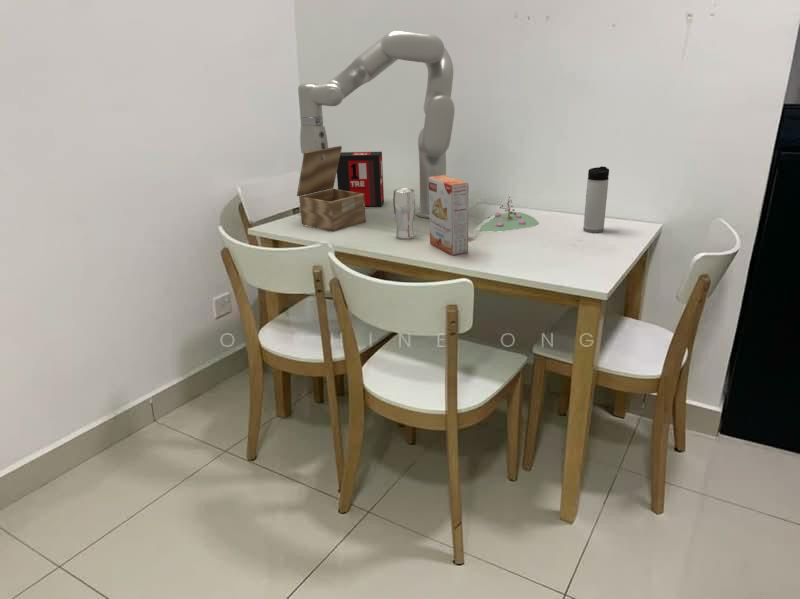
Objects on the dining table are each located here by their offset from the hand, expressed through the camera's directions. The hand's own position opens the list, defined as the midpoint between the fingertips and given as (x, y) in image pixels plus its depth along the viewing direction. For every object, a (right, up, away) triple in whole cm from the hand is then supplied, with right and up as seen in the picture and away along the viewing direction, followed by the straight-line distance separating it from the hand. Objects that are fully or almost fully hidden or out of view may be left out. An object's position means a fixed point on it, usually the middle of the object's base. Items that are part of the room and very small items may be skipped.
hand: (315, 175), depth 214 cm
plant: (+65, -18, -6) cm, 68 cm away
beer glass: (+31, -24, -18) cm, 43 cm away
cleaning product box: (+15, -7, +26) cm, 31 cm away
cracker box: (+44, -28, -31) cm, 61 cm away
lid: (+2, +1, -2) cm, 3 cm away
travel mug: (+92, -22, -18) cm, 96 cm away
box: (+6, -17, +1) cm, 18 cm away
